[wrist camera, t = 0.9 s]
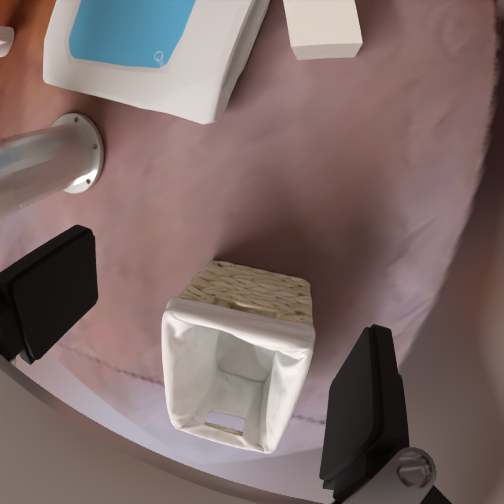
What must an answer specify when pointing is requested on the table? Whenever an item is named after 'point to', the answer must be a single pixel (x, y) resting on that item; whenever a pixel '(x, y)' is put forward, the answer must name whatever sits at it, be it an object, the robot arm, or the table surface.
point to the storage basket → (237, 353)
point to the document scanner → (153, 51)
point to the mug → (6, 40)
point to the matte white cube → (323, 28)
